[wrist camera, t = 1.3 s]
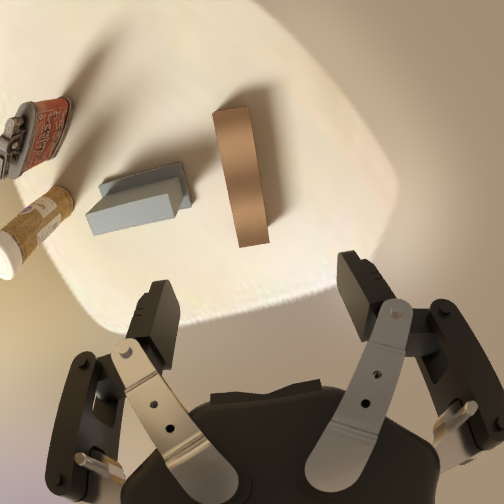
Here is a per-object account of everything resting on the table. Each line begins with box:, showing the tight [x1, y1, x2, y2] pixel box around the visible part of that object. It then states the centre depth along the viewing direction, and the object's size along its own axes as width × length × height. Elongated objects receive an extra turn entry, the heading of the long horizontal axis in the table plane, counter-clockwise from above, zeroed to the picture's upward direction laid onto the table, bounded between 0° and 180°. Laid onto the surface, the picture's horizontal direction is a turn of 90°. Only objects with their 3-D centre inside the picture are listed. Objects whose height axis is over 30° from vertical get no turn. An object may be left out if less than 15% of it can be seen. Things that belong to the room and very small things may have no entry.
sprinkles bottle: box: [0, 186, 73, 280], centre depth 22 cm, size 5×5×14 cm
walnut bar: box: [212, 106, 270, 248], centre depth 27 cm, size 14×3×4 cm, turn 9°
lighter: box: [0, 96, 74, 181], centre depth 18 cm, size 8×3×10 cm, turn 145°
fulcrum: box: [85, 162, 192, 236], centre depth 26 cm, size 5×10×6 cm, turn 99°
